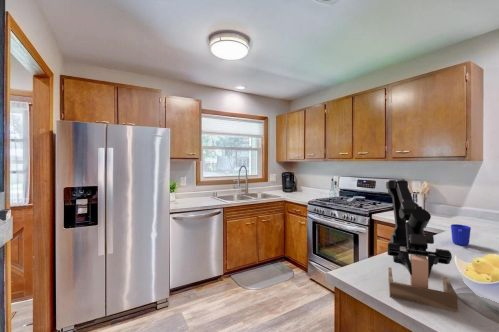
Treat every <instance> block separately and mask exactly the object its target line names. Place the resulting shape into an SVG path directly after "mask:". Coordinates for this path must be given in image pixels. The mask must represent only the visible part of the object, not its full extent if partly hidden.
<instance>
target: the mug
mask: <svg viewBox="0 0 499 332" xmlns="http://www.w3.org/2000/svg"><path fill="white" fill-rule="evenodd" d="M471 230H472V228H471V226H469V225H465V224H464V225H463V224H458V223H457V224H456V223H455V224H454V223H453V224H450V231H451V240H452V243H453V244H455V245H458V246H464V247H465V246H466V247H467V246H469V244H470V239H471V238H470V237H471Z"/></svg>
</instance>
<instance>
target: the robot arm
mask: <svg viewBox="0 0 499 332" xmlns="http://www.w3.org/2000/svg"><path fill="white" fill-rule="evenodd" d="M385 187H386V189H387V193H388V195H390V197H391V198H392V199H391V200H392V206H393V215H394V225H395V227H394V229H393V230H392V234H391V237H390V239H389V242H388V243H387V255H388V256H391V257H392V259H393V262H394V263H400V264H403V265H405V267H406V269H407V271H408V273H409V276H411V275H412V269H411V258H410V255H418V256H425V257H426V258H427V260H428V279H430V277H431V276H430V275H431V273H432V272H431V271H432V268H433V267H434V265H438V264H443V265H449V264H450V263H451V261H452V259H453V256H452V252H451V251H450V250H448V249H443V248H442V249H441V248H435V251H429V250H428V249H429V247H428V244H429V245H433V244H434V243H435V238H434V234H432V233H426V234H425V231H424V229H426V228H427V226H428V224H429V222H430V220H431V217H432V215H431V214H430V212H429V211H428V210H426V209H425V208H423V207H422V205H421V206H420V205H419V204H418V203H416V202H415V201H414V199H413V197H412V194H411V192H410V188H409V183H408V181H407V180H405V179H389V180H388V181H386V183H385Z"/></svg>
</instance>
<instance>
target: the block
mask: <svg viewBox="0 0 499 332" xmlns="http://www.w3.org/2000/svg"><path fill="white" fill-rule="evenodd" d="M410 263H411V269H412V275H410V285H412V286H417V287H423V288H428V289H429V278H428V257H425V256H419V255H412V254H410Z"/></svg>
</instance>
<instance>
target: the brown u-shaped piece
mask: <svg viewBox="0 0 499 332" xmlns="http://www.w3.org/2000/svg"><path fill="white" fill-rule="evenodd" d="M387 269H388V291H389V297H392V298H395V299H399V300H402V301H403V300H404V301H408V302H413V303H418V304H420V305H421V304H422V305H425V306H431V307H434V308H438V309H444V310H448V311H452V312H456V313H457V312H458V310H459V309H458V307H459V303H458V294H457V293H456V291H455V289H454V288H453V285H452V284H451V282H450V280H449V279H448V277H446V276H443V278H442V282H443V284H442V285H443V287H442V288H443V291H442V290H437V289H432V288H429V287H428V288H423V287H417V286H412V285H411V284H407V283H403V282H397V281H394V278H393V270H392V267H389V266H388V268H387Z"/></svg>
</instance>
